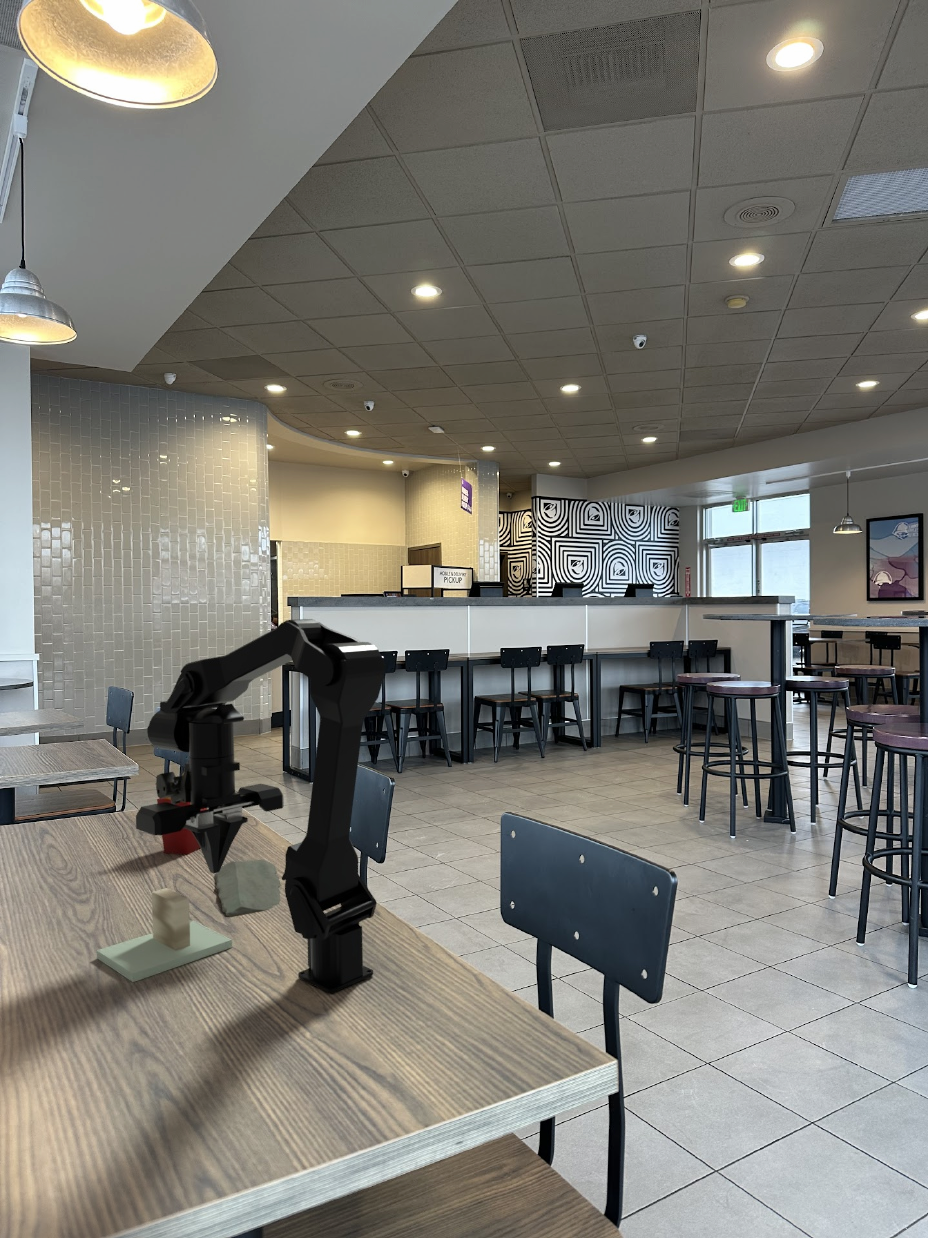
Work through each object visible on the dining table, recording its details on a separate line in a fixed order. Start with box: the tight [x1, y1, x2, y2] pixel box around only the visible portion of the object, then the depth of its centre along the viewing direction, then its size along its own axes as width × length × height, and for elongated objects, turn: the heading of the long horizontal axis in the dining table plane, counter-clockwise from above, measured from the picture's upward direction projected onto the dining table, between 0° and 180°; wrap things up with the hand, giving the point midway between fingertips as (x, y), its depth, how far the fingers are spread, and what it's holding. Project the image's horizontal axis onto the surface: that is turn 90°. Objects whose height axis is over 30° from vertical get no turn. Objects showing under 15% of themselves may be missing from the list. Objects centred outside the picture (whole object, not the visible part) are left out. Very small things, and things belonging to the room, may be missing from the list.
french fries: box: [156, 772, 208, 856], centre depth 149 cm, size 9×8×15 cm
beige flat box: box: [151, 887, 191, 950], centre depth 104 cm, size 6×2×6 cm, turn 47°
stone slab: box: [213, 859, 282, 918], centre depth 127 cm, size 22×3×10 cm
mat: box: [96, 920, 233, 983], centre depth 103 cm, size 10×13×1 cm
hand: (214, 872), depth 108 cm, fingers closed
